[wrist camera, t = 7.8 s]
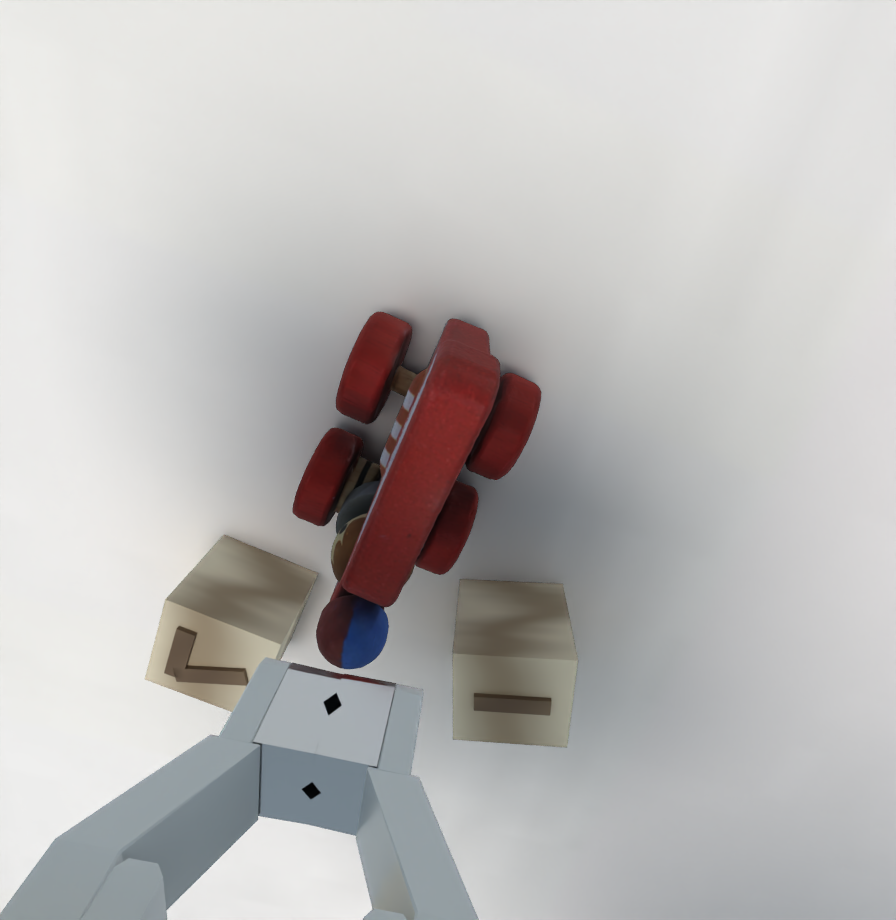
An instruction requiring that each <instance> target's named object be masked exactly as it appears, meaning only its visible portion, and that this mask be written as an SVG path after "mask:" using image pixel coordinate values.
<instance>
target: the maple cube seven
mask: <svg viewBox="0 0 896 920" xmlns="http://www.w3.org/2000/svg"><path fill="white" fill-rule="evenodd" d="M317 575H318V573H316V572H314V571H311V570H309V569H307V568H304V567H302V566H299V565H297V564H294V563H292V562H290V561H287V560H285V559H282V558H280V557H277V556H275V555H273V554H270V553H268V552H265V551H263V550H260V549H258V548H255V547H253V546H251V545H248V544H246V543H243V542H241V541H238V540H236V539H234V538H231V537H229V536H226V535H223V536H222V537H221V539H220V540H219V541H218V542H217V543H216V544H215V545H214V546H213V547H212V549H211V550H210V551H209V552H208V553H207V554H206V555H205V556H204V557H203V558H202V560H201V561H200V562H199V563H198V564H197V565H196V566H195V567H194V568H193V570H192V571H191V572H190V573H189V574H188V575H187V576H186V577H185V578H184V580H183V581H182V582H181V583H180V584H179V585H178V586H177V587H176V588H175V589H174V591H173V592H172V593H171V594H170V595H169V596H168V597H167V598H166V599H165V603H164V607H163V611H162V615H161V619H160V622H159V626H158V630H157V634H156V638H155V642H154V645H153V649H152V653H151V657H150V661H149V665H148V669H147V672H146V676H145V680H148V681H151V682H153V683H156V684H159V685H161V686H164V687H167V688H169V689H172V690H175V691H177V692H180V693H183V694H185V695H188V696H191V697H194V698H196V699H199V700H202V701H204V702H207V703H210V704H212V705H215V706H218V707H220V708H223V709H226V710H228V711H231V712H233V710H234V708H235V706H236V704H237V703H238V701H239V699H240V697H241V695H242V694H243V692H244V690H245V688H246V686H247V685H248V683H249V681H250V679H251V677H252V676H253V674H254V672H255V670H256V668H257V667H258V665H259V664H260V662H261V661H262V660H263V659H264V658H265V657H267V658H272V659H276V660H281V658H282V656H283V654H284V652H285V650H286V648H287V646H288V644H289V642H290V640H291V637H292V635H293V633H294V630H295V628H296V625H297V623H298V621H299V618H300V616H301V613H302V611H303V609H304V606H305V604H306V601H307V599H308V597H309V594H310V592H311V589H312V587H313V585H314V582H315V580H316V577H317Z"/></svg>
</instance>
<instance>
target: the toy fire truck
mask: <svg viewBox="0 0 896 920" xmlns="http://www.w3.org/2000/svg"><path fill="white" fill-rule="evenodd" d="M411 336H412V327H411V326H410V325H409V324H408V323H406V322H405V321H402V320H400V319H398V318H396V317H393V316H391V315H389V314H387V313H384V312H376V313H374V314H373V315H371V316H370V318H369V319H368V321H367V322H366V324H365V325H364V327H363V329H362V331H361V332H360V334H359V336H358V338H357V341H356V343H355V345H354V347H353V349H352V351H351V354H350V356H349V358H348V361H347V363H346V366H345V369H344V372H343V375H342V378H341V381H340V385H339V388H338V392H337V397H336V408H337V410H338V411H340V412H341V413H342V414H344V415H346V416H348V417H351V418H353V419H355V420H358V421H360V422H362V423H365V424H370V423H372V422H374V421H375V420H376V419H377V417H378V416H379V414H380V412H381V410H382V408H383V407H384V404H385V402H386V400H387V398H388V396H389V394H390V391H391V390H392V391H395V392H397V393H399V394H401V395H403V396H405V400H404V402H403V404H402V406H401V409H400V411H399V413H398V415H397V418H396V420H395V423H394V426H393V428H392V431H391V433H390V435H389V437H388V440H387V442H386V445H385V447H384V450H383V453H382V456H381V459H380V466H379V465H378V464H376V463H373V462H371V461H368V460H366V459H364V458H362V457H361V453H362V450H363V446H364V443H363V440H362V439H361V438H360V437H359V436H356V435H354V434H351V433H349V432H347V431H345V430H343V429H340V428H331V429H330V430H329V431H328V432H327V433H326V434H325V435H324V437H323V438H322V439H321V441H320V443H319V445H318V446H317V448H316V450H315V452H314V454H313V456H312V457H311V460H310V462H309V464H308V466H307V468H306V470H305V472H304V475H303V477H302V480H301V482H300V484H299V487H298V490H297V492H296V496H295V500H294V504H293V513H294V514H295V515H296V516H297V517H298V518H300V519H303V520H306V521H308V522H311V523H313V524H315V525H317V526H325V525H326V524H327V523H328V522H330V520H331V519H332V517H333V516H334V514H335V512H337V513H339V514H338V517H337V522H336V532H337V536H336V538H335V541H334V543H333V546H332V551H331V563H332V568H333V572H334V575H335V577H336V579H337V580H338V582H337V584H336V587H335V589H334V592H333V594H332V597H331V599H330V602H329V603H328V604H327V605H326V607H325V608H324V609H323V611H322V613H321V616H320V619H319V622H318V626H317V630H316V638H317V643H318V648H319V650H320V652H321V654H322V655H323V656H324V658H325V659H326V660H327V661H328V662H330V663H331V664H332V665H335V666H337V667H339V668H343V669H355V668H361V667H364V666H365V665H367V664H369V663H371V662H372V661H373V660H374V659H375V658H376V657H377V656H378V655H379V654H380V652H381V651H382V649H383V647H384V645H385V643H386V639H387V634H388V628H389V625H388V618H387V615H386V613H385V612H384V607H389V606H391V605H392V604H394V602H395V601H396V600H397V598H398V596H399V594H400V592H401V590H402V587H403V586H404V584H405V583H406V582H407V581H408V579H409V578H410V576H411V574H412V572H413V569H414V565H416V566H417V567H419V568H422V569H425V570H427V571H430V572H432V573H435V574H439V575H441V574H445V573H446V572H448V571H449V570H450V569H451V568H452V566H453V565H454V563H455V562H456V561H457V559H458V557H459V555H460V553H461V551H462V549H463V547H464V545H465V543H466V541H467V539H468V536H469V534H470V531H471V529H472V526H473V522H474V519H475V515H476V512H477V506H478V493H477V491H476V489H475V488H473V487H472V486H469V485H466V484H464V483H461V482H459V481H457V480H456V479H457V477H458V475H459V473H460V471H461V469H462V467H463V465H464V463H465V464H466V467H467V469H468V470H469V471H471V472H475V473H477V474H479V475H481V476H483V477H486V478H488V479H493V480H498V479H500V478H501V477H503V476H504V475H506V474H507V473H508V472H509V471H510V470H511V468H512V467H513V466H514V464H515V463H516V461H517V459H518V458H519V456H520V454H521V452H522V450H523V448H524V446H525V445H526V443H527V441H528V438H529V436H530V434H531V431H532V429H533V426H534V423H535V421H536V418H537V414H538V410H539V406H540V401H541V391H540V388H539V387H538V386H537V385H536V384H535V383H533V382H531V381H528V380H526V379H524V378H522V377H520V376H518V375H516V374H513V373H506V374H504V375H503V376H502V377H500V363H499V361H498V359H496V358H495V357H494V356H493V355H490V345H489V344H490V343H489V335H488V334H487V332H486V331H485V330H483V329H481V328H478V327H476V326H473V325H471V324H468V323H466V322H464V321H461V320H458V319H450V320H449V321H448V322H447V323H446V325H445V327H444V330H443V332H442V335H441V337H440V339H439V342H438V344H437V346H436V348H435V350H434V352H433V355H432V357H431V360H430V362H429V365H428V367H427V368H426V369H425V370H423V371H421V372H420V373H419V374H415V373H413V372H412V371H409V370H407V369H405V368H403V367H401V365H402V362H403V360H404V357H405V355H406V352H407V349H408V346H409V343H410V340H411Z"/></svg>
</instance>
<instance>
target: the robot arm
mask: <svg viewBox="0 0 896 920" xmlns="http://www.w3.org/2000/svg"><path fill="white" fill-rule="evenodd" d="M395 688H396V689H395ZM422 700H423V689H419V688H414V687H409V686H404V685H399V684H397V685H396V683H391V682H386V681H381V680H375V679H370V678H365V677H359V676H354V675H349V674H344V675H343V674H339V673H335V672H330V671H326V670H322V669H317V668H313V667H309V666H304V665H300V664H296V663H290V662H286V661H281V660H276V659H272V658H267V657H265V658H264V659H263V660H262V661H261V662H260V664H259V665H258V667H257V668H256V670H255V672H254V674H253V676H252V677H251V679H250V681H249V683H248V685H247V686H246V688H245V690H244V692H243V694H242V695H241V697H240V699H239V701H238V703H237V704H236V706H235V708H234V710H233V712H232V713H231V715H230V717H229V719H228V721H227V722H226V724H225V726H224V728H223V730H222V731H221V733H220V735H219V736H215V735H209V736H208V737H206V738H205V739H203V740H202V741H200V742H199V743H197V744H196V745H194V746H193V747H191V748H190V749H188V750H187V751H185V752H184V753H182V754H181V755H179V756H178V757H176V758H175V759H173V760H172V761H170V762H169V763H167V764H166V765H165V766H163V767H162V768H160V769H159V770H157V771H156V772H154V773H153V774H151V775H150V776H148V777H147V778H145V779H144V780H142V781H141V782H139V783H138V784H136V785H135V786H133V787H132V788H130V789H129V790H127V791H126V792H124V793H123V794H121V795H120V796H118V797H117V798H115V799H114V800H112V801H111V802H109V803H108V804H106V805H105V806H103V807H102V808H101V809H99V810H98V811H96V812H95V813H93V814H92V815H90V816H89V817H87V818H86V819H84V820H83V821H81V822H80V823H78V824H77V825H75V826H74V827H72V828H71V829H69V830H68V831H66V832H65V833H63V834H62V835H60V836H59V837H57V838H56V839H55V840H54V841H53V843H52V844H51V845H50V847H49V848H48V850H47V851H46V852H45V854H44V855H43V856H42V858H41V859H40V860H39V862H38V863H37V864H36V866H35V867H34V869H33V870H32V871H31V873H30V874H29V875H28V877H27V878H26V879H25V881H24V882H23V884H22V885H21V886H20V888H19V889H18V890H17V892H16V893H15V894H14V896H13V897H12V898H11V900H10V901H9V903H8V904H7V905H6V907H5V908H4V909H3V911H2V912H1V913H0V920H167V912H166V910H167V909H168V908H169V907H170V906H171V905H172V904H173V903H174V902H175V901H176V900H177V899H178V898H179V897H180V896H181V895H182V894H183V893H184V892H185V891H186V890H187V889H189V888H190V887H191V886H192V885H193V884H194V883H195V882H196V881H197V880H198V879H199V878H200V877H201V876H202V875H203V874H204V873H205V872H206V871H207V870H208V869H209V868H210V867H211V866H212V865H213V864H214V863H215V862H216V861H217V860H218V859H219V858H220V857H221V856H222V855H223V854H224V853H225V852H226V851H227V850H228V849H229V848H230V847H231V846H232V845H233V844H234V843H235V842H236V841H237V840H238V839H239V838H240V837H241V836H242V835H243V834H244V833H245V832H246V831H247V830H248V829H249V828H250V827H251V826H252V825H253V824H254V823H255V822H256V821H257V820H258V816H262V817H268V818H274V819H280V820H285V821H291V822H297V823H303V824H308V825H313V826H317V827H321V828H325V829H330V830H334V831H338V832H342V833H346V834H351V835H355V836H356V841H357V845H358V850H359V854H360V858H361V862H362V866H363V871H364V875H365V879H366V883H367V887H368V892H369V896H370V900H371V904H372V908H373V910H372V911H370V912H369V913H368V914H367V915H366V916H365V917H364V918H363V920H479V919H478V917H477V915H476V912H475V910H474V907H473V905H472V903H471V900H470V898H469V895H468V893H467V891H466V888H465V886H464V884H463V881H462V879H461V876H460V874H459V872H458V869H457V867H456V864H455V862H454V860H453V857H452V855H451V853H450V850H449V848H448V845H447V843H446V841H445V838H444V836H443V833H442V831H441V829H440V826H439V824H438V822H437V819H436V817H435V814H434V812H433V810H432V807H431V805H430V802H429V800H428V798H427V795H426V793H425V791H424V788H423V786H422V783H421V781H420V779H419V777H416V776H412V775H411V769H412V763H413V756H414V750H415V744H416V738H417V731H418V725H419V719H420V713H421V706H422Z"/></svg>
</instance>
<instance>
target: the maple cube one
mask: <svg viewBox="0 0 896 920" xmlns="http://www.w3.org/2000/svg"><path fill="white" fill-rule="evenodd" d="M577 665H578V658H577V653H576V648H575V643H574V638H573V633H572V628H571V623H570V618H569V613H568V608H567V603H566V598H565V593H564V588H563V584H556V583H534V582H513V581H491V580H469V579H460V584H459V594H458V604H457V614H456V624H455V634H454V644H453V740H468V741H482V742H496V743H510V744H524V745H539V746H553V747H567V744H568V736H569V728H570V720H571V712H572V704H573V696H574V689H575V681H576V673H577Z"/></svg>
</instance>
